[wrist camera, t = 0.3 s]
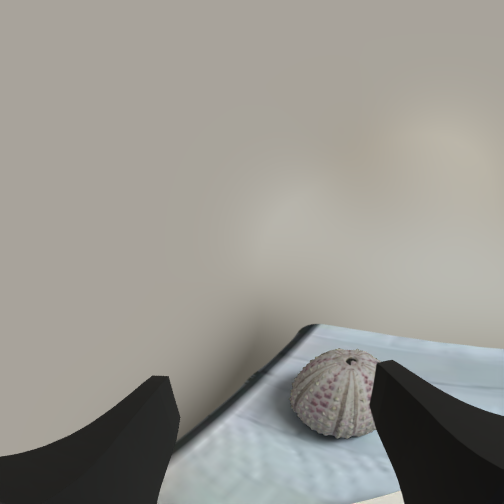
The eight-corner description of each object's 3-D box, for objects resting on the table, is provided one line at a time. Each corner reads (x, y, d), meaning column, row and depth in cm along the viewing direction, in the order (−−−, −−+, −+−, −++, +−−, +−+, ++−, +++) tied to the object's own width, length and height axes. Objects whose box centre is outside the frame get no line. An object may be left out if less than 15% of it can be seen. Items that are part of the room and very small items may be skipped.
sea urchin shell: (314, 367, 42) (318, 321, 39) (401, 388, 34) (415, 341, 32) (269, 425, 31) (269, 376, 29) (377, 460, 24) (397, 412, 22)
